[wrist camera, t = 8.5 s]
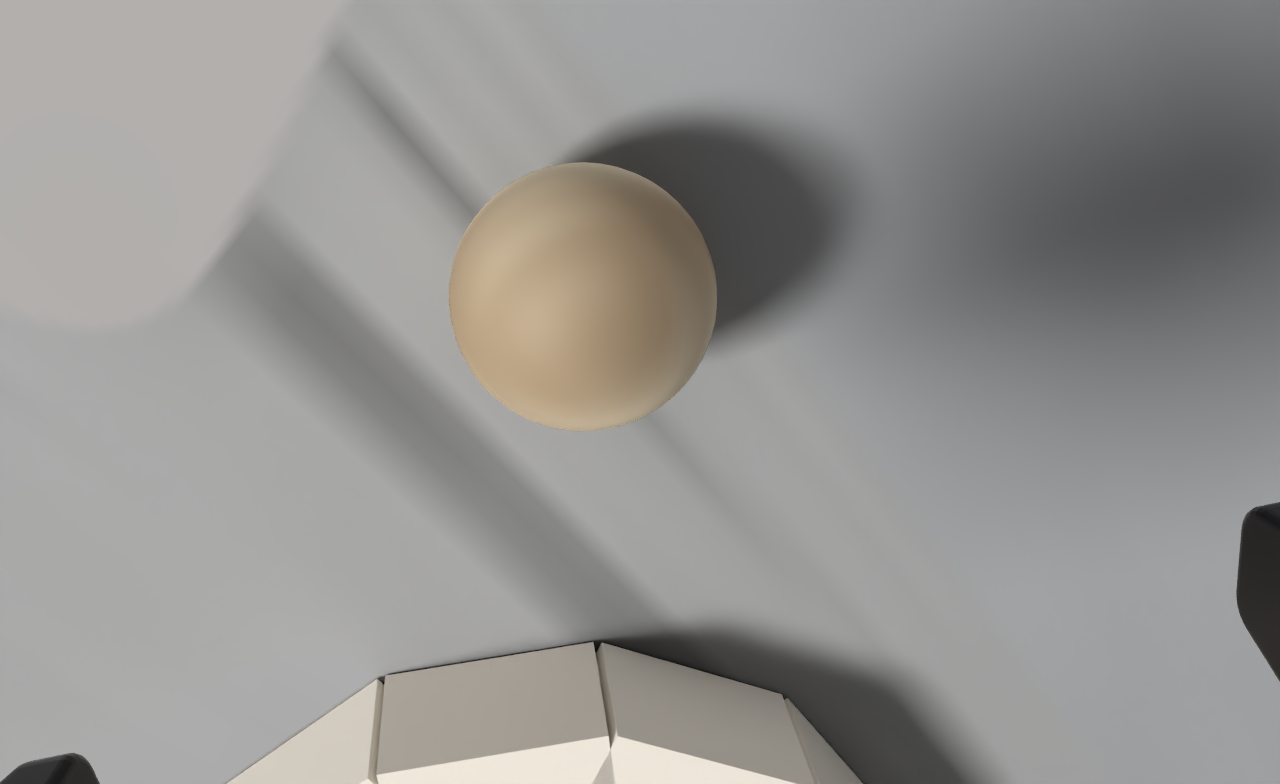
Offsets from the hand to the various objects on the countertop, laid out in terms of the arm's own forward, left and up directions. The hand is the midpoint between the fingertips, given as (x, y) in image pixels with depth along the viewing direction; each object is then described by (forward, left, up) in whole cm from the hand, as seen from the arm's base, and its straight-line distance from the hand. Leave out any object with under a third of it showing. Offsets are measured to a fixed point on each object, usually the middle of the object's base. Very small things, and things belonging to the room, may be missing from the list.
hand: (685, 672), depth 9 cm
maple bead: (0, 0, -8) cm, 8 cm away
